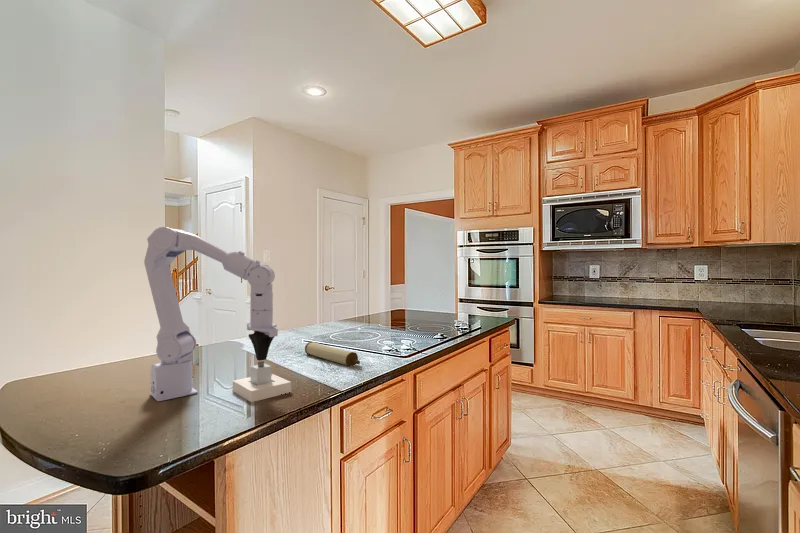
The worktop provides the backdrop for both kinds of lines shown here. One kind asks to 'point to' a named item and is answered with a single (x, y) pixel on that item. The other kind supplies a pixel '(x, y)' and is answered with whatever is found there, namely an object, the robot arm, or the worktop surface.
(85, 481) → the worktop surface
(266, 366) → the plug
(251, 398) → the socket box
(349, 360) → the rolling pin
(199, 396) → the worktop surface
